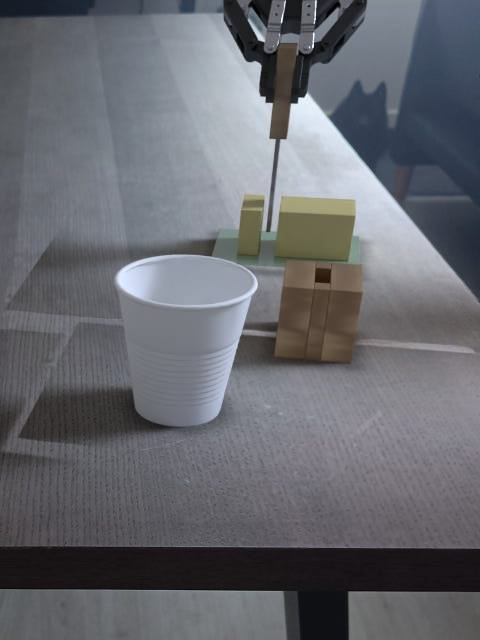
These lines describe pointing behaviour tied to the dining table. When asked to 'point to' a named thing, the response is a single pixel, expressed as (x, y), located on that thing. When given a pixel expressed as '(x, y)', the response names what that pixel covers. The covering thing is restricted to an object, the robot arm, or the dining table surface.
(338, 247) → the butter block
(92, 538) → the dining table surface
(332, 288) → the knife holder
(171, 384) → the cup
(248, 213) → the butter pat
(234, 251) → the board
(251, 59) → the robot arm
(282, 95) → the knife
